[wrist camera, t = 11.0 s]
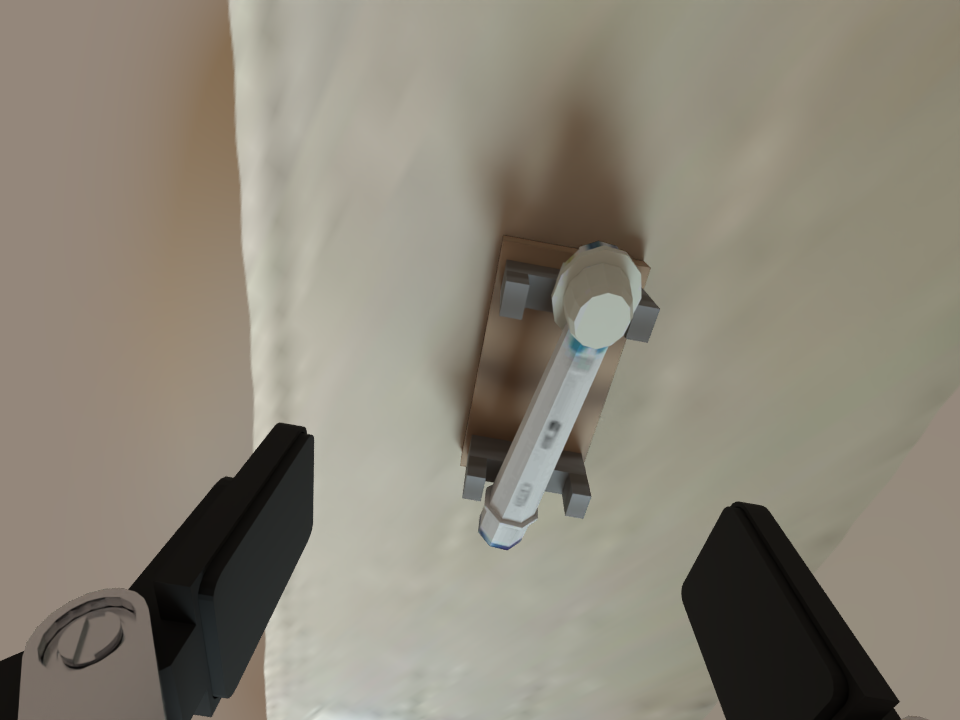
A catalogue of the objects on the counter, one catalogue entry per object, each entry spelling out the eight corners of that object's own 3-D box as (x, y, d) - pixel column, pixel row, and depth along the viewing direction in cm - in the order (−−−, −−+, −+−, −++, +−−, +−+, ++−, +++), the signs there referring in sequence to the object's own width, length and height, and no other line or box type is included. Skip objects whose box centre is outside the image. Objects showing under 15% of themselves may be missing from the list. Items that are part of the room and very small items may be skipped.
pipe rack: (503, 235, 36) (502, 259, 29) (643, 261, 36) (674, 291, 29) (462, 452, 45) (453, 509, 38) (573, 471, 45) (585, 531, 39)
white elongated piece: (467, 544, 38) (580, 267, 24) (475, 481, 43) (571, 226, 29) (529, 559, 38) (676, 294, 24) (529, 494, 44) (648, 248, 30)
